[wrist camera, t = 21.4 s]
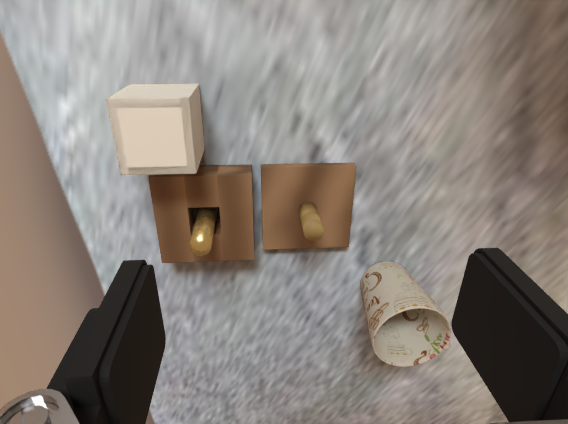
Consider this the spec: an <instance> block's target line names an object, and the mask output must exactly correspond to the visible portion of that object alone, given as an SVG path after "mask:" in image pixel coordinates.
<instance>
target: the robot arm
mask: <svg viewBox="0 0 568 424" xmlns="http://www.w3.org/2000/svg"><path fill="white" fill-rule="evenodd" d="M452 330H453V333H454V335H455V336H456V338H457V340H458V341H459V343H460V344H461V346H462V347H463V349H464V351H465V352H466V354H467V355H468V357H469V359H470V360H471V362H472V363H473V365H474V367H475V368H476V370H477V371H478V373H479V375H480V376H481V378H482V379H483V381H484V383H485V384H486V386H487V387H488V389H489V391H490V392H491V394H492V395H493V397H494V399H495V400H496V402H497V403H498V405H499V406H500V408H501V410H502V411H503V413H504V414H505V416H506V418H507V419H508V421H509V422H506V423H489V424H568V314H567V313H566V312H565V311H564V310H563V309H562V308H561V307H560V306H559V305H558V304H557V303H556V302H555V301H554V300H553V299H551V298H550V297H549V296H548V295H547V294H546V293H545V292H544V291H543V290H542V289H541V288H540V287H539V286H538V285H537V284H536V283H535V282H534V281H533V280H532V279H531V278H530V277H528V276H527V275H526V274H525V273H524V272H523V271H522V270H521V269H520V268H519V267H518V266H517V265H516V264H515V263H514V262H513V261H512V260H511V259H510V258H509V257H508V256H507V255H506V254H504V253H503V252H502V251H501V250H500V249H499V248H479V249H476V250H475V252H474V253H472V254H471V255H470V256H469V258H468V262H467V266H466V269H465V273H464V277H463V281H462V285H461V288H460V292H459V296H458V300H457V304H456V307H455V311H454V315H453V319H452ZM164 349H165V331H164V325H163V319H162V313H161V308H160V302H159V296H158V290H157V284H156V279H155V273H154V268H153V265H147V263H146V261H145V260H129V261H123V262H122V264H121V266H120V268H119V270H118V272H117V274H116V276H115V278H114V280H113V282H112V283H111V285H110V287H109V289H108V291H107V293H106V295H105V297H104V299H103V301H102V303H101V305H100V307H99V308H93V309H91V310H90V311H89V312H88V313H87V315H86V317H85V318H84V320H83V322H82V324H81V326H80V328H79V330H78V331H77V333H76V335H75V337H74V339H73V341H72V342H71V344H70V346H69V348H68V350H67V352H66V354H65V355H64V357H63V359H62V361H61V363H60V365H59V367H58V368H57V370H56V372H55V374H54V376H53V378H52V379H51V381H50V383H49V385H48V387H47V388H46V389H38V390H34V391H29V392H27V393H25V394H23V395H20V396H18V397H16V398H15V399H13V400H11V401H10V402H8V403H7V404H5V405H4V406H3V407H2V408H1V409H0V424H145V423H146V419H147V415H148V411H149V407H150V403H151V399H152V396H153V392H154V388H155V384H156V380H157V376H158V372H159V368H160V364H161V361H162V357H163V353H164Z"/></svg>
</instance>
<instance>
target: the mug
mask: <svg viewBox="0 0 568 424" xmlns="http://www.w3.org/2000/svg"><path fill="white" fill-rule="evenodd" d="M360 285H361V292H362V297H363V302H364V308H365V313H366V318H367V323H368V329H369V334H370V339H371V344H372V347H373V350H374V352H375V354H376V355H377V356H378V357H379V358H380V359H381V360H382V361H384V362H385V363H387V364H390V365H394V366H402V367H405V366H414V365H418V364H421V363H424V362H426V361H428V360H430V359H432V358H433V357H435V356H436V355H437V354H439V353H440V352H441V351H442V350H447V349H448V348H449V347H450V340H449V338H450V334H451V327H450V323H449V321H448V319H447V317H446V316H445V314H444V313H443V312H442V311H441V309H440V308H439V307H438V306H437V305H436V304H435V303H434V301H433V300H432V299H431V298H430V297H429V296H428V295H427V294H426V292H425V291H424V290H423V289H422V288H421V287H420V286H419V284H418V283H417V282H416V281H415V280H414V279H413V278H412V277H411V275H410V274H409V273H408V272H407V271H406V270H405V269H404V268H403V267H402V266H401V265H400V264H398V263H395V262H390V261H385V262H380V263H377V264H374V265H372V266H371V267H370V268H368V269H367V270H366V271H365V273H364V274H363V276H362V278H361V283H360Z"/></svg>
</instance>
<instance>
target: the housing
mask: <svg viewBox="0 0 568 424" xmlns="http://www.w3.org/2000/svg"><path fill="white" fill-rule="evenodd" d="M106 102H107V107H108V112H109V117H110V122H111V128H112V133H113V138H114V143H115V148H116V153H117V158H118V163H119V168H120V174H121V175H154V174H196V173H197V170H198V167H199V164H200V161H201V158H202V155H203V152H204V149H205V146H204V135H203V124H202V112H201V101H200V90H199V84H130V85H128V86H127V87H125V88H123V89H122V90H120V91H118V92H117V93H115V94H114V95H112V96H110V97H109V98H107V99H106Z"/></svg>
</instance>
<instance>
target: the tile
mask: <svg viewBox="0 0 568 424" xmlns="http://www.w3.org/2000/svg"><path fill="white" fill-rule="evenodd" d="M355 174H356V165H355V163H317V164H263V165H261V184H262V235H263V250H267V249H297V248H327V247H349V236H350V226H351V216H352V205H353V195H354V185H355Z"/></svg>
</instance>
